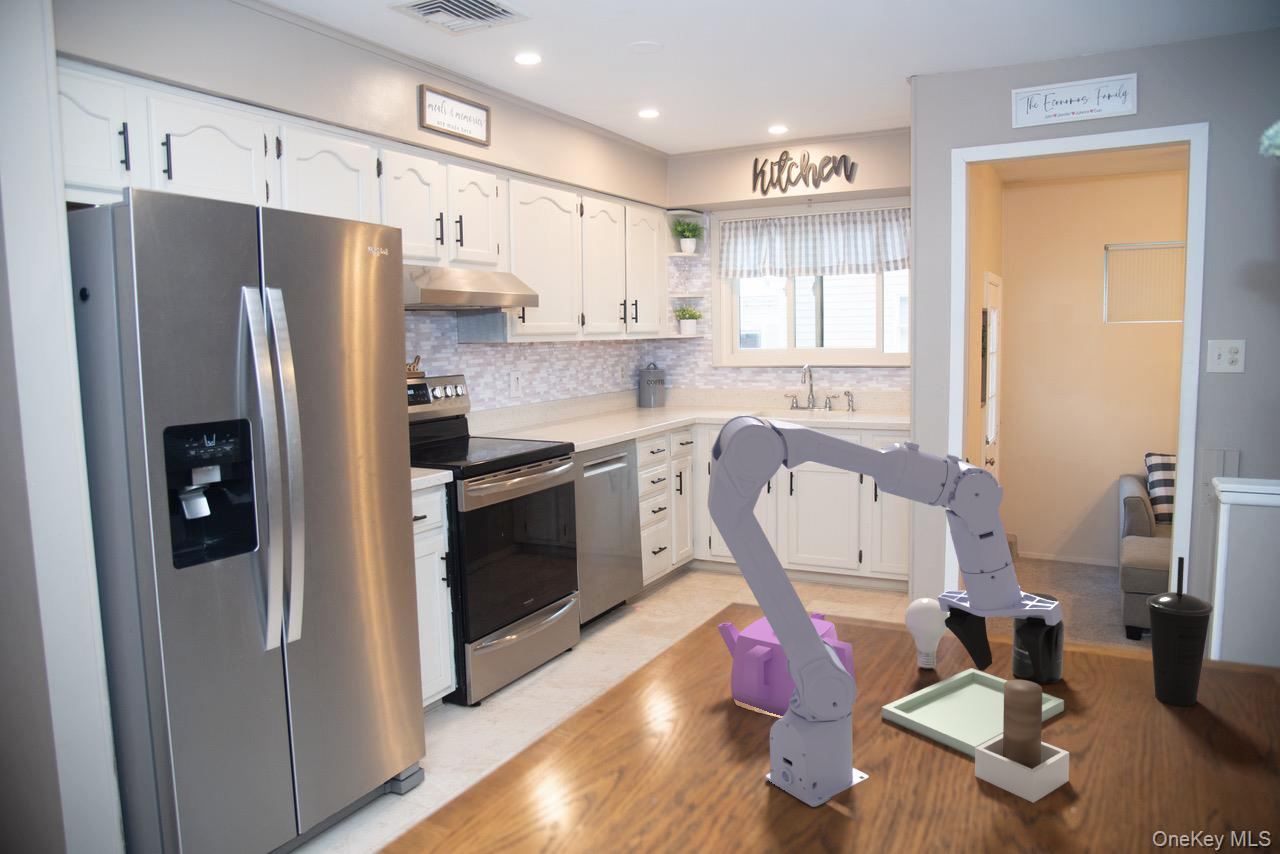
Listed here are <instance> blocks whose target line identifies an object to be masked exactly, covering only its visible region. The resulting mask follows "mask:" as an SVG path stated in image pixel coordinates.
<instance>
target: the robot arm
mask: <svg viewBox="0 0 1280 854" xmlns="http://www.w3.org/2000/svg"><path fill="white" fill-rule="evenodd" d="M765 421H766V422H768V424H769V425H770V427H769V426H768V425H766V423H765V422H764V421H763V420H761V419H760V418H758V417H756V416H753V415H748V414H740V415H736V416H734V417H732V418H730V419H729V420H727V421H726V422H725V424H723V426H722V427H721V429H720V430H719V433H718V436H717V437H716V439H715V441H714V444H713V445H712V447H711V458H710V459H711V460H710V461H711V464H710V473H709V476H710V477H709V484H708V495H707V496H708V497H707V509H708V512H709V515H710V517H711V519H712V521H713V523H714V526H716V528H717V530H718V532H719V534H720V536H721V538H722V540H723V541H724V543H725V546H726V547H727V548H728V551H729V552H730V554H731V556H732V558H733V559H734V561H735V563H736V565H737V567H738V569H739V571H740V572H741V575H742V576H743V579H744V580H745V582H746V584H747V585H748V588H749V589H750V590H751V593H752V595H753V596H754V598H755V600H756V602H757V604H758V605H759V608H760V609H761V611H762V613H763V614H764V616H765V617H766V618H767V620H768V622H769V624H770V626H771V628H772V629H773V631H774V633H775V635H776V637H777V639H778V640H779V642H780V644H781V646H782V648H783V650H784V652H785V654H786V656H787V669H788V672H789V674H790V676H791V678H792V679H793V681H794V683H795V685H796V687H795V689H794V690H793V693H792V695H791V698H790V699H789V704H790V705H789V708H788V710H787V712H786V713H785V714H784V716H783V717H782V718H780V719H779V718H778V719H777V720H776V721H775V722H774V723H773V724H772V725H771V727H770V730H769V770H770V771H769V773H767V774H765V779H766V778H767V781H768V780H769V781H770V783H771V782H772V783H771V784H773V785H774V784H775V786H776V787H778V788H779V787H780V788H779V789H781V790H783V791H784V790H785V792H786V793H788V794H790V795H791V796H793V797H795V798H796V799H798V800H800V801H801V802H803V803H805V804H807V805H809V806H810V807H812V808H817V807H818V806H820V805H822V804H825V803H826V802H828V801H830V800H832V798H831V797H834V796H836V795H837V794H840V793H841V792H844V791H845V790H847V789H849V788H851V787H853V786H855V785H858V784H859V783H861V782H863V781H865V780H868V779H869V778H870V776H869V775H868V774H866V773H864V772H862V771H860V770H858V769H857V768H856V767H855V768H854V766H853V761H854V760H853V757H854V755H853V753H854V752H853V707H854V705H855V703H856V701H857V696H858V694H857V693H858V690H857V685H856V681H855V682H854V680H853V678H852V677H851V675H850V674H849V673H848V672H847V671H846V669H845V668H844V666H843V664H842V663H841V661H840V660H839V658H838V654H837V652H836V650H835V649H834V648H833V646H832V645H831V644H829V643H828V642H826V641H825V640H823V639H822V638H821V637H820V636H819V634H818V632H817V630H816V628H815V626H814V625H813V623H812V621H811V619H810V617H811V616H810V615H809V614H808V612H807V610H806V608H805V606H804V604H803V603H802V601H801V598H800V597H799V595H798V593H797V592H796V590H795V588H794V585H793V584H792V582H791V580H790V578H789V576H788V575H787V572H786V571H785V569H784V566H782V564H781V561H780V560H779V557H778V555H777V554H776V552H775V551H774V549H773V547H772V545H771V543H770V541H769V540H768V537H767V536H766V534H765V532H764V530H763V528H762V526H761V524H760V523H759V520H758V519H757V517H756V515H755V513H754V509H755V508H756V505H757V502H758V500H759V498H760V494H761V492H762V490H763V488H764V487H765V486H766V485H767V484H768V483H769V482H770V481H771V479H773V477H774V476H775V475H776V473H778V470H779V469H780V468H781V465H783V466H784V467H785V468H786V469H788V470H791V469H793V468H796V467H797V466H800V465H801V464H804V463H806V462H807V463H808V462H813V463H817V464H821V465H824V466H827V467H832V468H836V469H840V470H844V471H848V472H851V473H856V474H861V475H863V476H864V475H865V476H867V477H872V478H873V480H874V482H875V484H876V486H877V488H878V490H879V491H881V492H883V493H887V494H889V495H894V496H897V497H900V498H904V499H907V500H911V501H915V502H918V503H921V504H924V505H928V506H932V507H938V506H939V507H940V506H941V507H942V508H945V515H946V519H947V523H948V526H949V531H950V535H951V539H952V543H953V546H954V547H953V548H954V551H955V554H956V558H957V563H958V566H959V569H960V570H959V571H960V573H961V577H962V581H963V583H964V587H965V590H946V591H943V593H941V594H940V595H938V596H937V601H938V602H939V604H940V608H941V611H943V612H947V613H948V616H949V617H948V618H946V619H945V625H946V627H947V630H950V632H952V633H953V634H954V636H956V637H957V639H958V640H959V642H960V643H961V644H962V646H964V648H965V649H966V651H967V653H968V654H969V656H970V657H971V659H972V661H973V663H974V664H975V667H976V668H977V670H978V671H981V672H984V671H985V670H986V669H988V668H989V667H990V666H992V665H993V654H992V651H991V647H990V642H989V639H988V634H987V632H988V631H987V625H986V623H987V622H986V618H997V617H999V618H1002V617H1005V618H1006V617H1007V618H1013V619H1014V618H1021V619H1026V621H1027V623H1025V624H1023V625H1022V626H1021V627H1020V628H1018V629H1017V630H1016V633H1017V635H1018V636H1019V638H1020V639H1021V640H1022V642H1023V644H1024V646H1025V648H1026V650H1027V652H1028V654H1029V657H1030V660H1031V663H1032V667H1033V670H1034V674H1035V676H1036V678H1037V680H1038V681H1039V682H1045V681H1046V680H1047V679H1048V678H1049V677H1050V676H1052V675H1053V670H1052V660H1053V648H1054V642H1055V637H1056V633H1057V630H1058V627H1059V624H1060V622H1061V620H1062V621H1063V619H1064V615H1063V610H1062V607H1061V602H1059V601H1058V602H1055V601H1049V600H1045V599H1042V598H1039V597H1036V596H1033V595H1030V594H1028V593H1027V592H1025V591H1022V587H1021V586H1020V584H1019V581H1018V578H1017V574H1016V570H1015V565H1014V562H1013V558H1012V555H1011V551H1010V547H1009V541H1008V539H1007V536H1006V530H1005V528H1004V524H1003V521H1002V519H1001V514H1000V506H1001V505H1002V503H1003V499H1004V487H1003V485H999V483H998V481H997V479H996V477H995V476H993V474H992V473H991V472H990V471H988V470H986V469H983V468H981V467H979V466H976V465H974V464H971V463H969V462H966V461H964V460H963V459H961V458H960V457H959V456H956V455H953V454H950V453H949V454H947V455H946V457H945V456H943V455H939V454H935V453H932V452H929V451H925V450H922V449H920V445H919V444H918V443H916V442H913V441H910V440H904V442H903V443H904V444H901V443H897V442H894V443H891V444H889V445H887V446H885V447H883V448H880V449H876V448H874V447H871V446H867V445H864V444H861V443H859V442H855V441H851V440H848V439H845V438H842V437H840V436H836V435H833V434H830V433H827V432H824V431H820V430H819V429H818V430H817V429H814V428H811V427H808V426H805V425H802V424H797V423H792V422H789V421H788V422H787V421H782V420H777V419H768V418H766V419H765ZM946 508H947V509H946ZM769 781H768V782H769Z"/></svg>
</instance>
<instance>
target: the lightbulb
mask: <svg viewBox="0 0 1280 854" xmlns="http://www.w3.org/2000/svg"><path fill="white" fill-rule="evenodd" d="M948 617H949V612H943V611H941V608H940V604H939V600H937V599H935V598H930V597H922V598H921V597H920V598H917V599H915V600H913V601H912V602H910V604H909V605H908V606H907V608H906V610H905V614H904V623H905V625H906V628H907V630H908V632H909V633H910V634H911V636H912V638H913V639H914V640H913V641H914V645H915V647H916V649H917V651H916V652H917V655H916V656H917V662H916V664H917V665H918V666H919V667H920V668H922V669H924V670H930V669H933V668H935V667H936V666H937V665H936V664H937V663H936V662H937V660H936V656H937V655H936V654H937V649H938V648H939V642H940V640H941V639H942V637H944V635H945V634H946V632H947V630H948V628H947V627H946V625H945V619H946V618H948Z"/></svg>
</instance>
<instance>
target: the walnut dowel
mask: <svg viewBox="0 0 1280 854" xmlns="http://www.w3.org/2000/svg"><path fill="white" fill-rule="evenodd" d="M1042 693H1043V687H1042V686H1041V684H1037V683H1034V682H1031V681H1026V680H1022V679H1010V680H1007V682H1005V683H1004V716H1003V757H1005V758H1007V759H1009V760H1012V761H1014V762H1016V763H1019V764H1021V765H1024V766H1026V767H1028V768H1031V769H1033V768H1035V767H1036V766H1038V765H1040V764H1041V741H1042V729H1043V728H1042V727H1043V726H1042V725H1043V722H1042Z"/></svg>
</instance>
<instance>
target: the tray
mask: <svg viewBox="0 0 1280 854" xmlns="http://www.w3.org/2000/svg"><path fill="white" fill-rule="evenodd" d="M1007 681H1008V680H1006V679H1004V678H1001V677H997V676H996V675H993V674H989V673H987V672H984V671H980V670H978V669H975V668H972V667H970V668H968V669H965V670H963V671H961V672H959V673H956V674H955V675H953V676H950V677H948V678H946V679H945V678H944V679H943V680H941V681H939V682H936V683H934V684H931V685H929V686H927V687H924V688H923V689H920V690H917V691H915V692H913V693H911V694H908V695H906V696H904V697H901V698H899V699H896V700H895V701H892V702H890V703H888V704H885V705H883V706H881V718H882V719H885V720H887V721H890V722H892V723H894V724H896V725H898V726H901V727H903V728H905V729H907V730H910V731H912V732H914V733H917V734H919V735H921V736H924V737H926V738H928V739H930V740H933V741H934V742H938V743H940V744H942V745H944V746H946V747H949V748H951V749H953V750H956V751H958V752H960V753H962V754H965V755H966V756H969V757H972V758H973V759H975V748H976V747H978V746H980V745H982V744H984V743H986V742H988V741H989V740H991V739H993V738H995V737H997V736H999V735H1001V734H1003V716H1004V683H1005V682H1007ZM1064 711H1065V700H1064V699H1061V698H1059V697H1056V696H1053V695H1051V694H1048V693H1045V692H1042V723H1044V722H1045V721H1047V720H1049V719H1051V718H1052V717H1054V716H1056V715H1058V714H1060V713H1061V712H1064Z"/></svg>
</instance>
